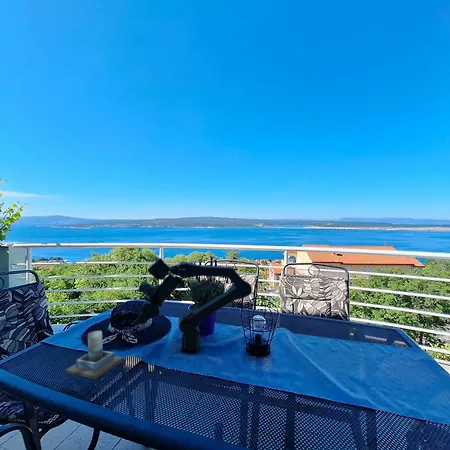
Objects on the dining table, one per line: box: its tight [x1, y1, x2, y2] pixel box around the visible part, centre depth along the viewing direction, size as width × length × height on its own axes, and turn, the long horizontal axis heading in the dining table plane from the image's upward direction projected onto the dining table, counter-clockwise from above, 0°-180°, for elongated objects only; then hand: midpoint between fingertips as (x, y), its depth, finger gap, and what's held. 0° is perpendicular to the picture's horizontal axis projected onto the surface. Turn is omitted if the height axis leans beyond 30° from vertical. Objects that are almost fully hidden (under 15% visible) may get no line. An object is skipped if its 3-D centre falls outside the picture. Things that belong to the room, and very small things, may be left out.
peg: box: [87, 330, 104, 363], centre depth 95 cm, size 4×4×10 cm
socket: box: [65, 350, 125, 381], centre depth 95 cm, size 13×13×4 cm
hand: (136, 319), depth 103 cm, fingers open, 9 cm apart
